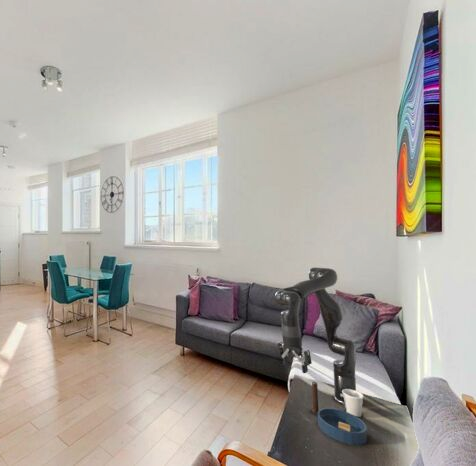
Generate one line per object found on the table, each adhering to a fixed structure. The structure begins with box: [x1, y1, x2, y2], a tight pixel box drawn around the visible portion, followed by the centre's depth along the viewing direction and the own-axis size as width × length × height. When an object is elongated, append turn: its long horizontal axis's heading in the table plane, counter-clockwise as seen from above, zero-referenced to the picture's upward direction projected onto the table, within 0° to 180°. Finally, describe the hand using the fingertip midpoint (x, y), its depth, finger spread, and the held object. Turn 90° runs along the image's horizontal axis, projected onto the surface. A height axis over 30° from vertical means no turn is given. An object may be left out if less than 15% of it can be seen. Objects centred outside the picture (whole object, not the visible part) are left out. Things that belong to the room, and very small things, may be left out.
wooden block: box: [338, 422, 351, 432], centre depth 122 cm, size 4×4×4 cm
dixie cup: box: [342, 389, 365, 418], centre depth 138 cm, size 8×8×10 cm
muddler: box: [311, 381, 320, 415], centre depth 139 cm, size 4×4×15 cm
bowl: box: [316, 407, 368, 446], centre depth 125 cm, size 17×17×6 cm
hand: (295, 369), depth 128 cm, fingers open, 8 cm apart
